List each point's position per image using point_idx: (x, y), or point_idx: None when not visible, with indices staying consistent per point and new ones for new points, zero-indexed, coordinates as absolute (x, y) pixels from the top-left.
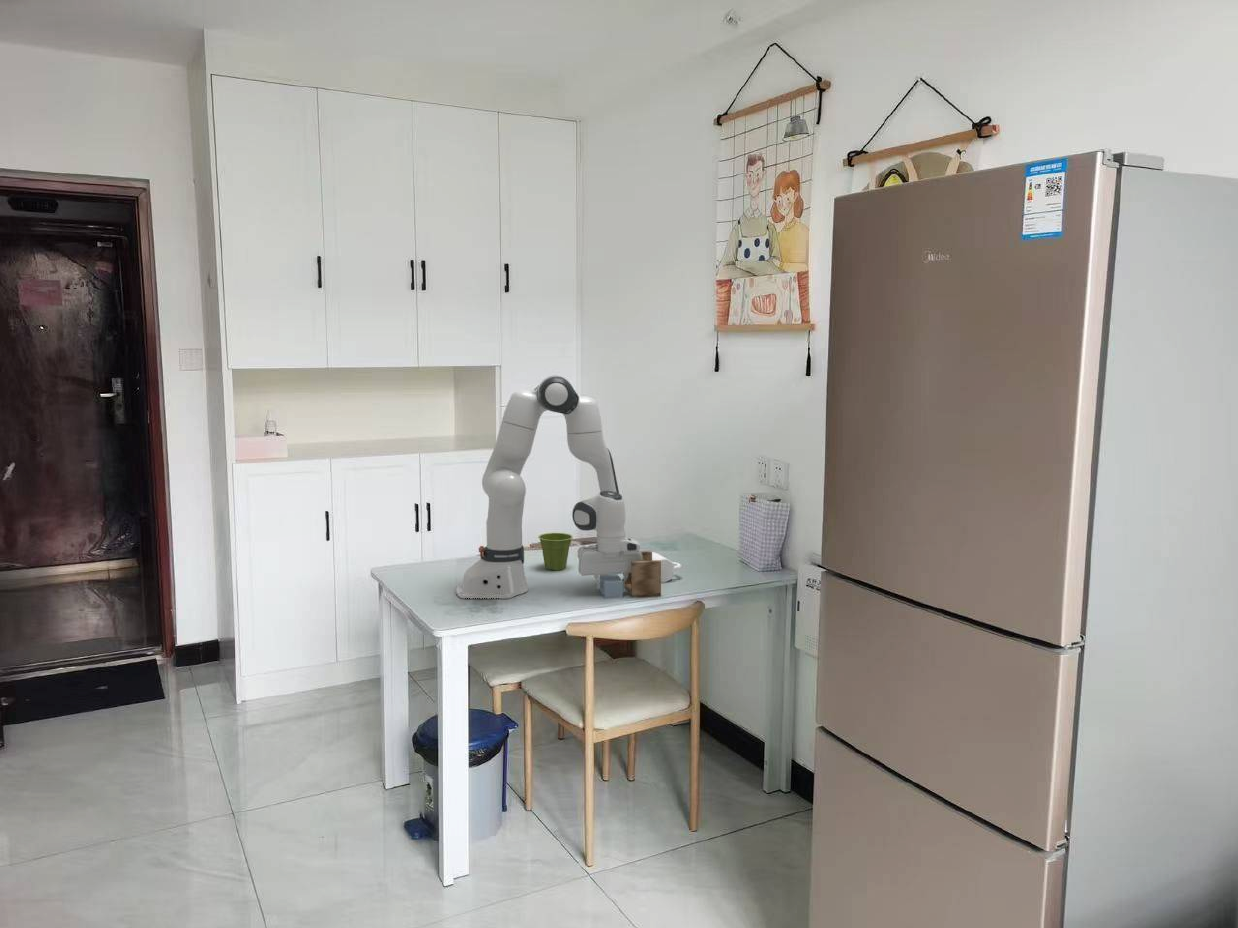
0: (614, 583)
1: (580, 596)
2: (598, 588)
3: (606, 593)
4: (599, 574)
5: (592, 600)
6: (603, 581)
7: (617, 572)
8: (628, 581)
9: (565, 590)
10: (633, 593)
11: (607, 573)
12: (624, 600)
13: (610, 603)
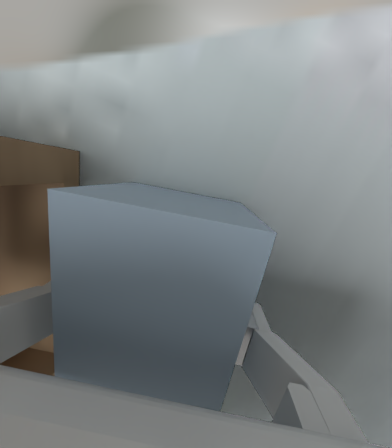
0: (159, 206)
1: (352, 291)
2: (257, 303)
3: (236, 206)
4: (329, 437)
5: (333, 192)
6: (242, 320)
7: (4, 391)
8: (35, 362)
9: (362, 399)
10: (49, 146)
11: (193, 419)
12: (141, 111)
13: (256, 74)
